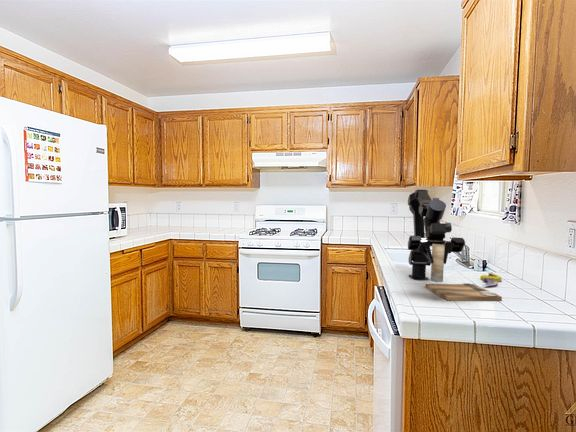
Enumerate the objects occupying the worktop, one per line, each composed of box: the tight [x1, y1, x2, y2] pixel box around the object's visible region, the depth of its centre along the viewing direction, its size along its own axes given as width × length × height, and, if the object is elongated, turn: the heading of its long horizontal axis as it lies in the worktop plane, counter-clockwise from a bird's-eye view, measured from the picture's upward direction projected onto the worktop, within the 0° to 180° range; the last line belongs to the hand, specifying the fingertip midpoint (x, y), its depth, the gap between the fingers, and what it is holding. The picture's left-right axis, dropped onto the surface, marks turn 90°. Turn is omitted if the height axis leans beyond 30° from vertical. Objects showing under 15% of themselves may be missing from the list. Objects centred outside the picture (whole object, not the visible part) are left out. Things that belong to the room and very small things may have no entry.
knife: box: [480, 272, 503, 287], centre depth 148 cm, size 8×3×25 cm
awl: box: [430, 244, 445, 283], centre depth 121 cm, size 4×4×13 cm
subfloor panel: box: [424, 283, 503, 302], centre depth 129 cm, size 17×20×2 cm
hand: (438, 263), depth 119 cm, fingers closed on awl, 4 cm apart
